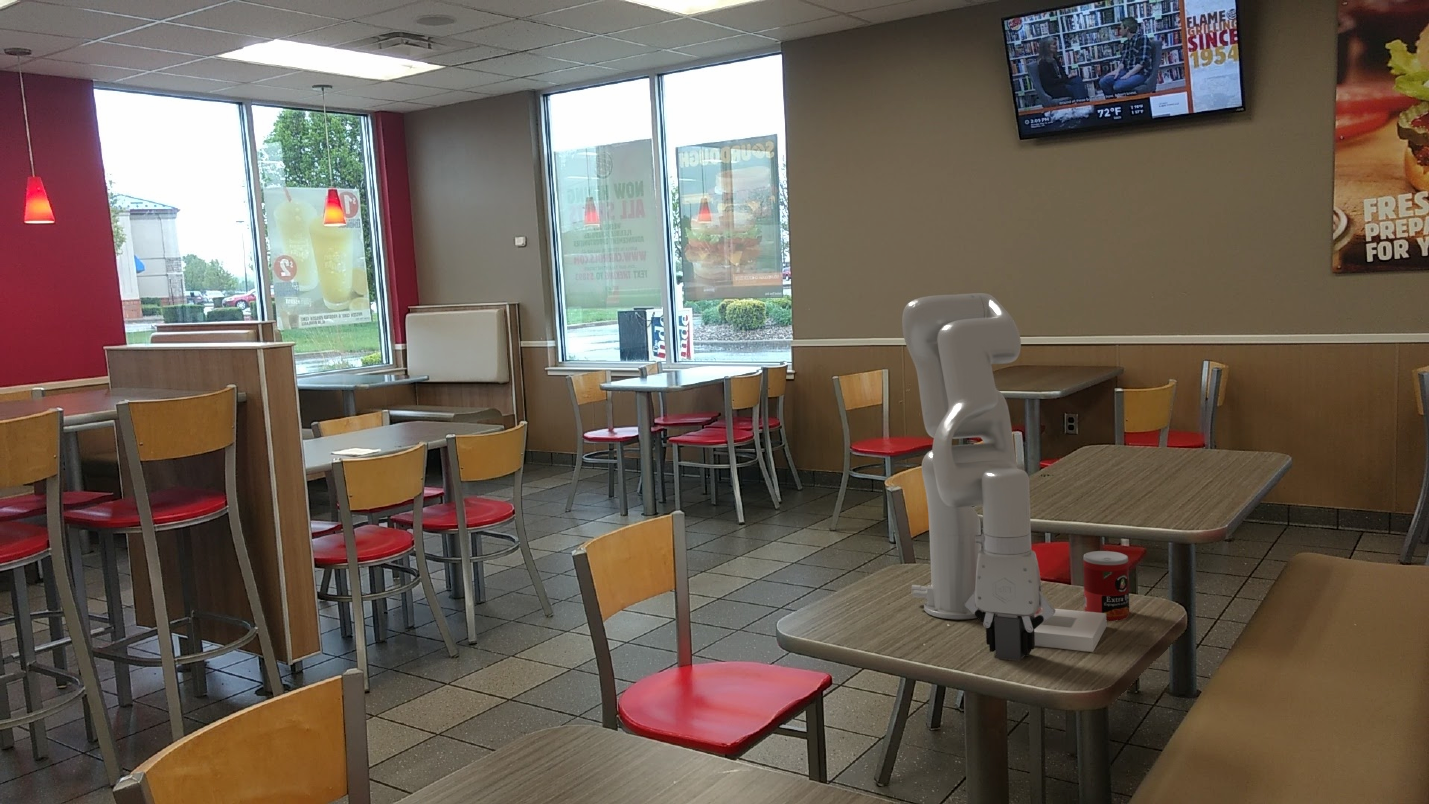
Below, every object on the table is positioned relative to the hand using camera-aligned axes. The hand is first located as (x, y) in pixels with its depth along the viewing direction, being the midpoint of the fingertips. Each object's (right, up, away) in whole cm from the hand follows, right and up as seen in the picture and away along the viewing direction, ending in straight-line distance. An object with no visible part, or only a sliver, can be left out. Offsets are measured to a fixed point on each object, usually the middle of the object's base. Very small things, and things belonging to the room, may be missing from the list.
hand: (1010, 650), depth 172 cm
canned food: (+23, +2, +18) cm, 29 cm away
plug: (0, -1, 0) cm, 1 cm away
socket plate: (+11, +1, +9) cm, 14 cm away
